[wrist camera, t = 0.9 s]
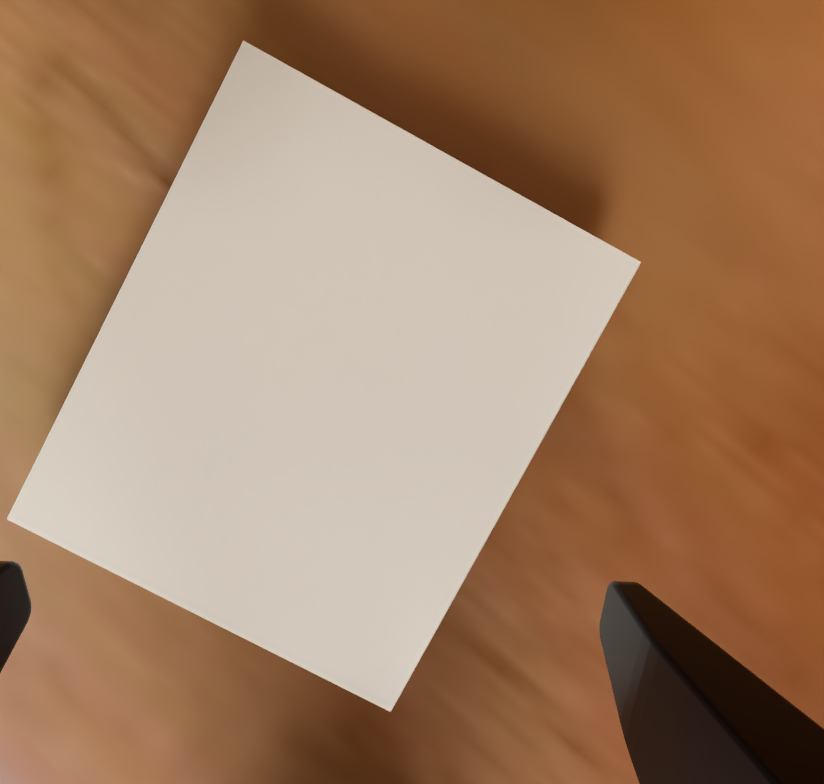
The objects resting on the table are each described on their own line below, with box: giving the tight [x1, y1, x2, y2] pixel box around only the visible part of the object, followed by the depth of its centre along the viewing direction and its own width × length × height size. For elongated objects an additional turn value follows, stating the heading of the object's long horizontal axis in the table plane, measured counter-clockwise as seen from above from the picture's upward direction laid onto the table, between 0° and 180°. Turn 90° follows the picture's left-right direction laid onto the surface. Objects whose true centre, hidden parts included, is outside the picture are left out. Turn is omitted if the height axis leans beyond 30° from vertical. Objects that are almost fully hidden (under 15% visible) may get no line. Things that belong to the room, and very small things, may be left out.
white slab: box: [7, 41, 641, 712], centre depth 21 cm, size 18×15×4 cm
